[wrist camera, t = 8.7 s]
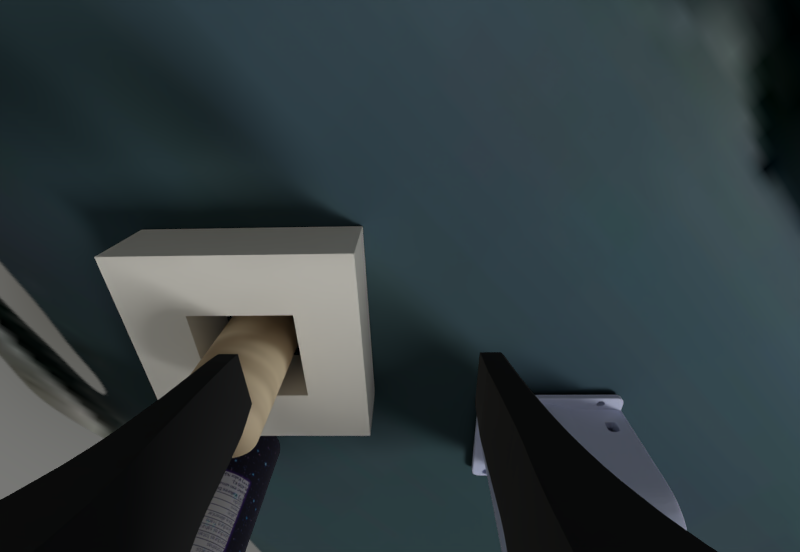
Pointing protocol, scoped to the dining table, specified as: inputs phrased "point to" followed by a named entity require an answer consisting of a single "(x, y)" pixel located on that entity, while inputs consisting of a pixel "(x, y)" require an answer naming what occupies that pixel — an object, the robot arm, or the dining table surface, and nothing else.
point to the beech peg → (257, 364)
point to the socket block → (254, 312)
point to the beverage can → (238, 500)
